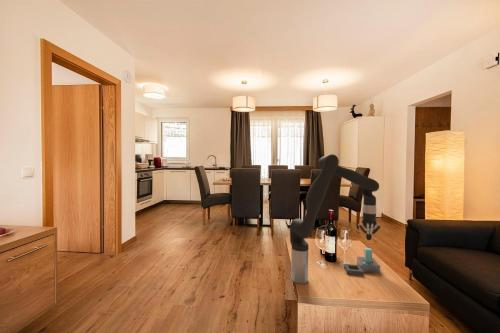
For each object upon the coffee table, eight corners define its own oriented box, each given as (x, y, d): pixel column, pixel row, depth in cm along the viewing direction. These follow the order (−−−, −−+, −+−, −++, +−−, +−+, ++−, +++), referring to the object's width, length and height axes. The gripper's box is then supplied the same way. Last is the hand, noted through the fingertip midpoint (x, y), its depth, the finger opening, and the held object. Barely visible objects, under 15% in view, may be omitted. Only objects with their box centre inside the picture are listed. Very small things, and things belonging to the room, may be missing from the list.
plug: (371, 269, 147) (372, 250, 147) (365, 269, 147) (365, 249, 147) (370, 267, 150) (370, 248, 150) (363, 266, 151) (364, 247, 151)
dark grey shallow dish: (363, 275, 138) (363, 271, 138) (347, 274, 140) (347, 270, 140) (359, 269, 147) (359, 265, 147) (344, 267, 149) (344, 263, 149)
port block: (379, 273, 142) (380, 265, 142) (361, 271, 144) (362, 263, 144) (373, 265, 154) (373, 257, 154) (356, 263, 156) (357, 255, 156)
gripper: (359, 212, 146) (358, 241, 146) (383, 213, 143) (382, 242, 143) (356, 210, 153) (355, 237, 153) (378, 211, 151) (378, 239, 151)
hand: (368, 239), depth 148 cm, fingers closed
